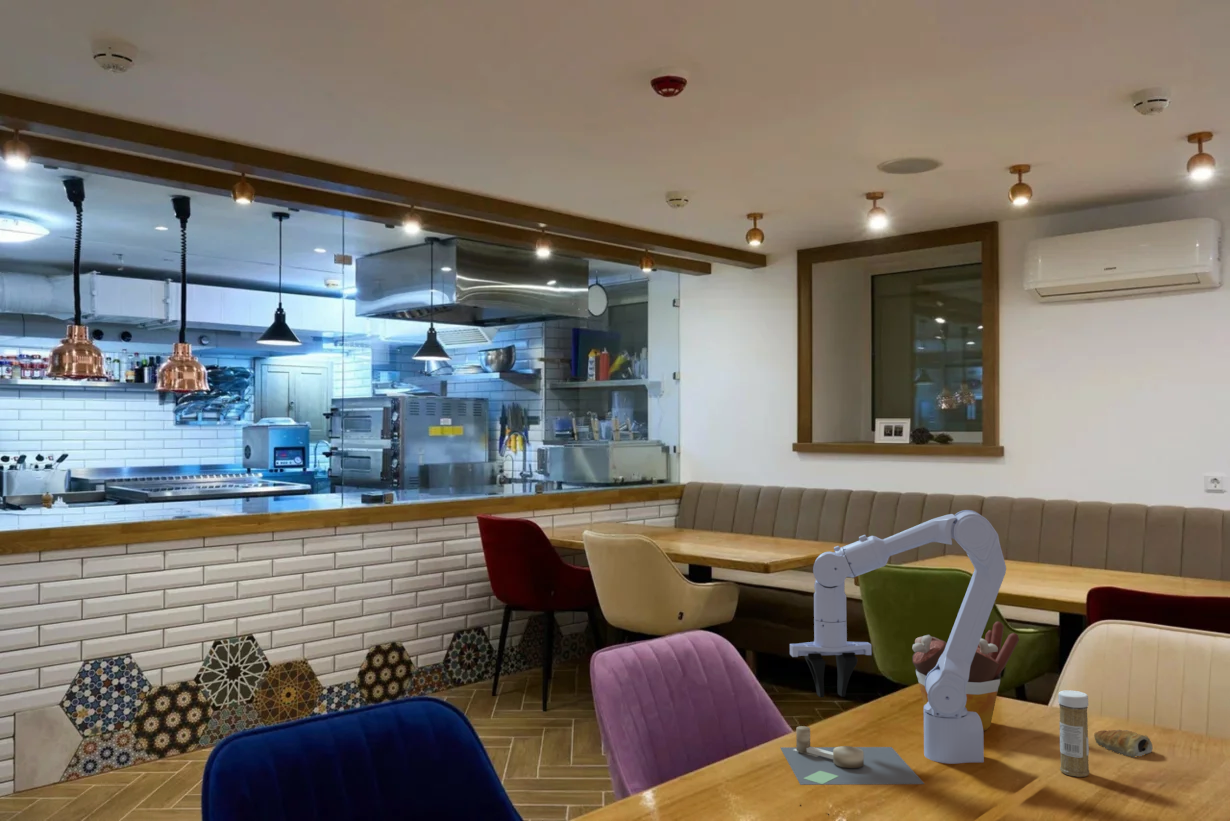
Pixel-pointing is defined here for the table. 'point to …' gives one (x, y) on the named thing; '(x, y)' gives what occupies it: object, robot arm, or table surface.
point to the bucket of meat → (981, 670)
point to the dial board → (877, 768)
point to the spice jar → (1074, 733)
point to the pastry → (1124, 742)
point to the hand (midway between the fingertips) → (830, 695)
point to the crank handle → (840, 755)
